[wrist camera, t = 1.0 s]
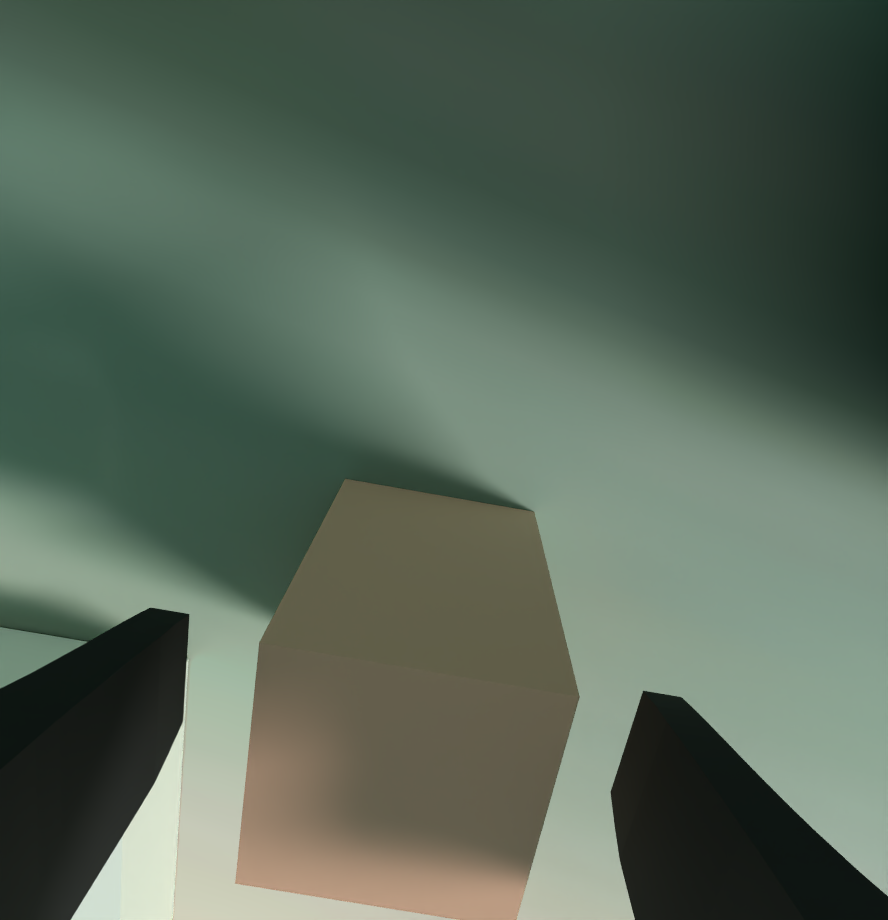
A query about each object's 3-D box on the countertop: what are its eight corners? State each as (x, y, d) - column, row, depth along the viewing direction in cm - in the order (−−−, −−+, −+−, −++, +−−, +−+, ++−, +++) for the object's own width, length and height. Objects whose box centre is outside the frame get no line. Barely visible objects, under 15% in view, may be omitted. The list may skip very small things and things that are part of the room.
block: (497, 670, 15) (513, 928, 9) (323, 642, 15) (235, 883, 9) (533, 511, 14) (579, 696, 8) (345, 478, 14) (258, 642, 8)
